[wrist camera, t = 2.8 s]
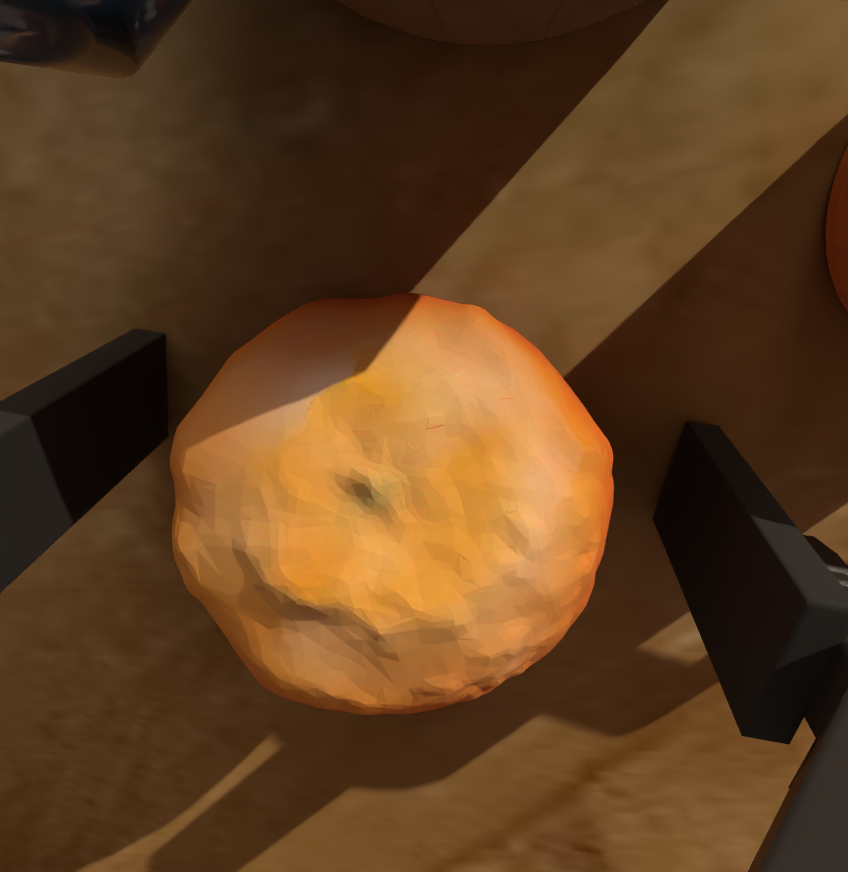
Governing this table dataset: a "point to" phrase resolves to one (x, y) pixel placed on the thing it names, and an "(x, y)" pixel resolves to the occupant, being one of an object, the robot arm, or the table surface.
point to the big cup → (164, 3)
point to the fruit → (390, 504)
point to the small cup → (839, 231)
